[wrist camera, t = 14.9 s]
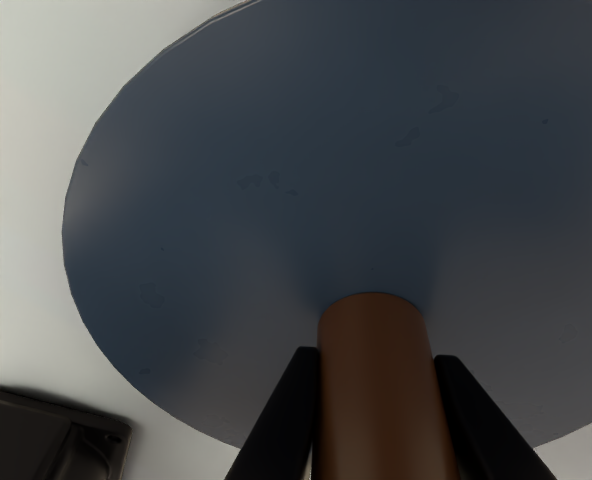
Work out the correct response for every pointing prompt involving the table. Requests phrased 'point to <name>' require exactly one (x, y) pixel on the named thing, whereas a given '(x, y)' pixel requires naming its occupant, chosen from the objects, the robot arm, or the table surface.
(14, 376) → the table surface
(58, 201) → the table surface
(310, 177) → the pot lid
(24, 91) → the table surface
